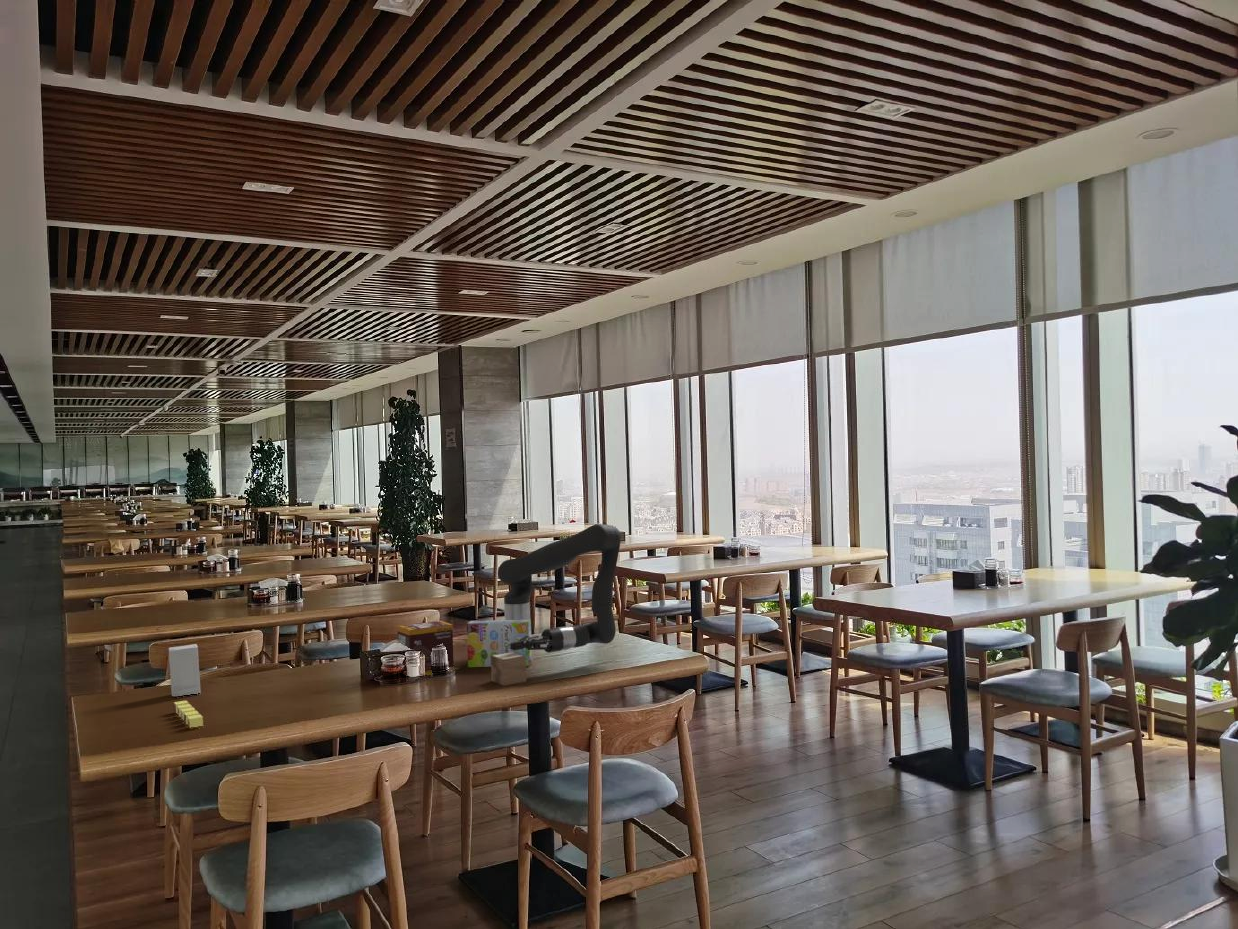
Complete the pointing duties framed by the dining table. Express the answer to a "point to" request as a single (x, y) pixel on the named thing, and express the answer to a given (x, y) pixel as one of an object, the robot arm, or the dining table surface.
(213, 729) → the dining table surface
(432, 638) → the supplement box
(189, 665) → the skincare box
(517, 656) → the walnut cube
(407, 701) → the dining table surface
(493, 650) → the snack box
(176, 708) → the yellow segmented bar
